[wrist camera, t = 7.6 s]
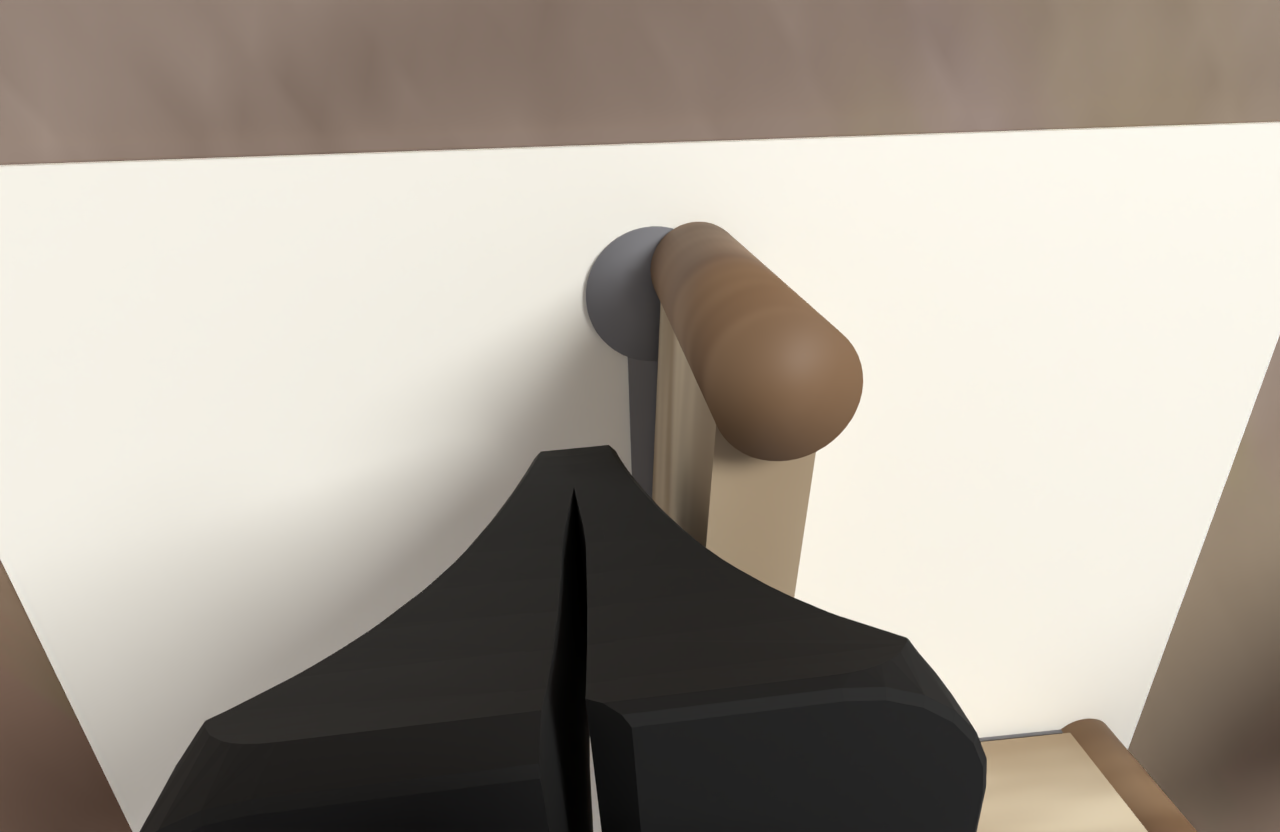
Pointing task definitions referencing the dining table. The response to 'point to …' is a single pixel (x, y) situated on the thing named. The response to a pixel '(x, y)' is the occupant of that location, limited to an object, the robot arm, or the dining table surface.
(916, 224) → the card
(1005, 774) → the fence corner and fixed panel
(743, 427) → the hinged fence panel
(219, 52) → the dining table surface
